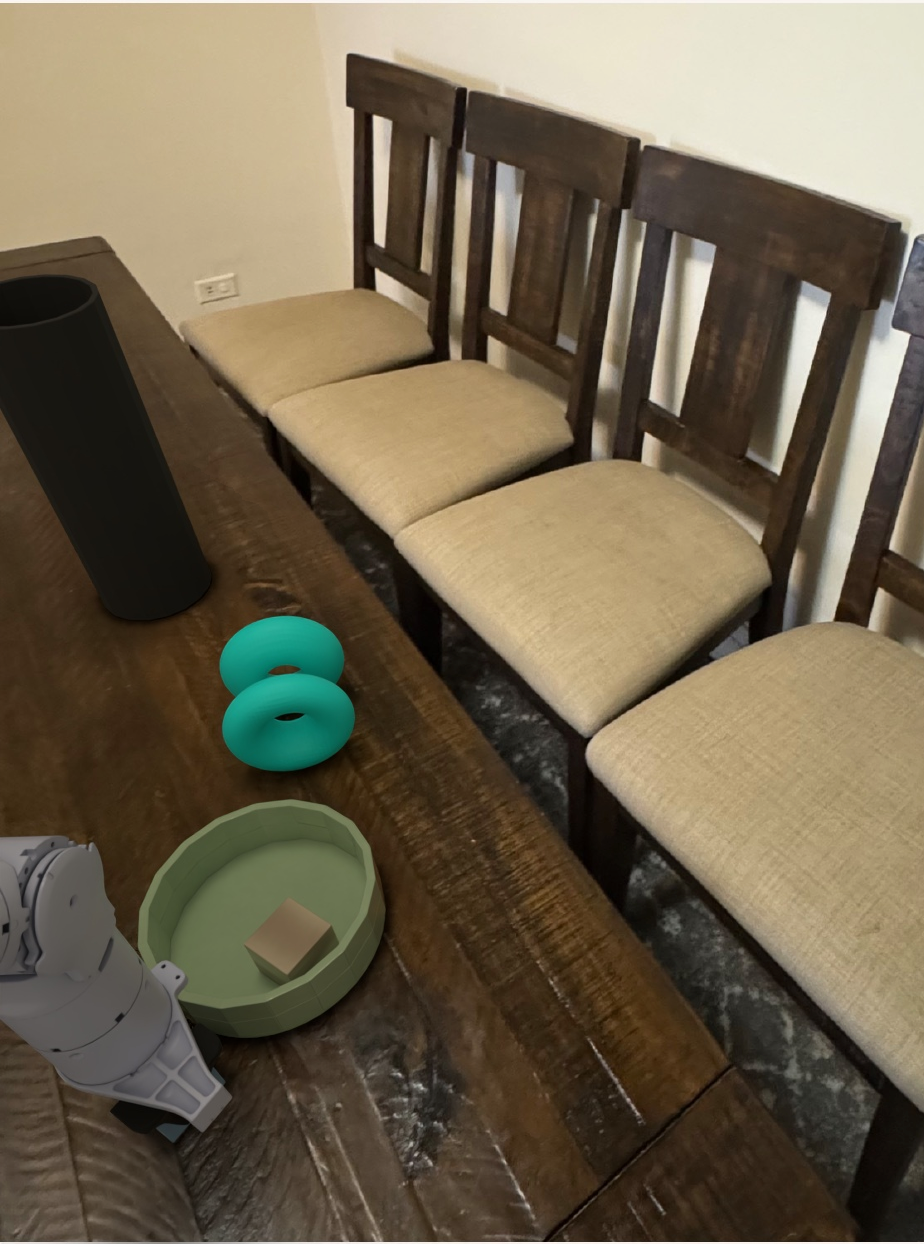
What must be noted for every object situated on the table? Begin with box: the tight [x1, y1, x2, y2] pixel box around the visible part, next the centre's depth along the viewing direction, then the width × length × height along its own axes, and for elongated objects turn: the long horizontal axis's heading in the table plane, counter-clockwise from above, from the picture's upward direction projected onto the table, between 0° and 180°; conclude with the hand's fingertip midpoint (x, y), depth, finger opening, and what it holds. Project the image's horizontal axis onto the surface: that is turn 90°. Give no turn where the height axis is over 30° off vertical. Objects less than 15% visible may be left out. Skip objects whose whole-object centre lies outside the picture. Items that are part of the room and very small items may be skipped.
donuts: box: [219, 615, 356, 772], centre depth 71 cm, size 10×10×10 cm
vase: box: [0, 273, 213, 621], centre depth 77 cm, size 10×10×30 cm
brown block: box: [244, 897, 339, 986], centre depth 58 cm, size 4×4×4 cm
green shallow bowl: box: [137, 798, 387, 1039], centre depth 60 cm, size 15×15×5 cm
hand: (171, 1086), depth 53 cm, fingers closed on blue block, 4 cm apart
